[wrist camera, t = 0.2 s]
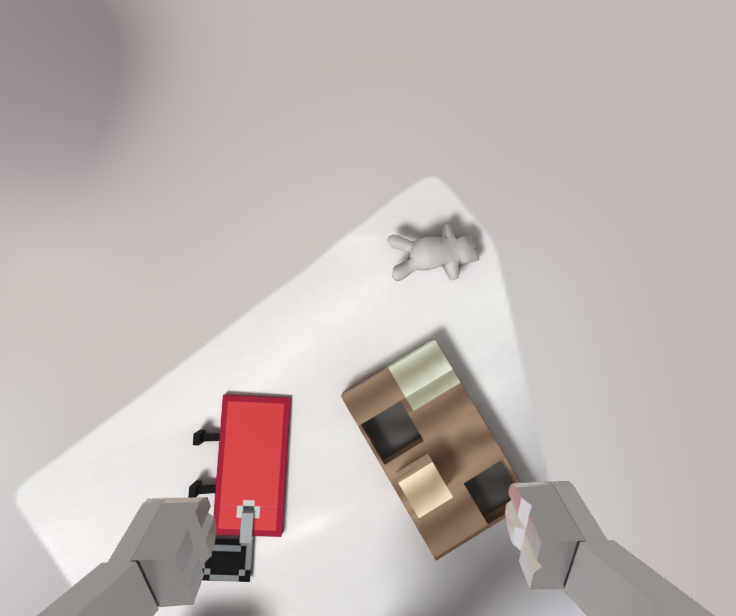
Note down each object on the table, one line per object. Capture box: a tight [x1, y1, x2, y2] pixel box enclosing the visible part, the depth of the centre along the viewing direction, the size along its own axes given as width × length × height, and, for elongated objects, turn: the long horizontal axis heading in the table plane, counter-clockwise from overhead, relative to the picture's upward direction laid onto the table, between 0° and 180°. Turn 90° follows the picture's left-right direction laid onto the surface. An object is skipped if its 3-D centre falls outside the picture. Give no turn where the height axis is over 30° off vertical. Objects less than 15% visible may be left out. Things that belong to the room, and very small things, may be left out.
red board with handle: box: [188, 395, 290, 582], centre depth 61 cm, size 30×3×15 cm
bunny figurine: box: [388, 223, 479, 281], centre depth 63 cm, size 10×5×15 cm
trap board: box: [341, 340, 520, 560], centre depth 61 cm, size 30×18×3 cm, turn 31°
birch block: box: [396, 454, 453, 518], centre depth 58 cm, size 6×6×4 cm
